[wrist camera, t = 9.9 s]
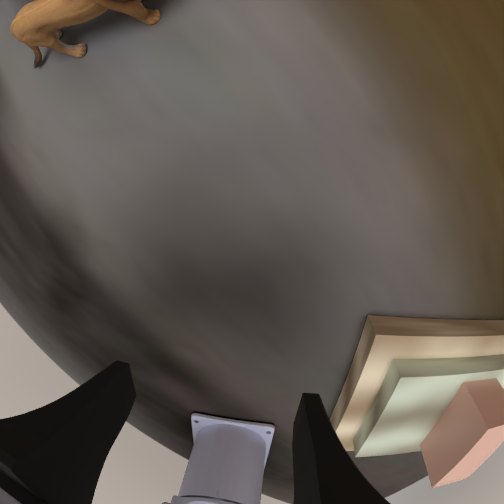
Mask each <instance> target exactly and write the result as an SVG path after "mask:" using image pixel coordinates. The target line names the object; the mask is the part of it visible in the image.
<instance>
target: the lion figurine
mask: <svg viewBox="0 0 504 504" xmlns="http://www.w3.org/2000/svg"><path fill="white" fill-rule="evenodd" d="M140 1H142V0H37V1H33V2H30V3H28V4H27V5H25V6H24V7H23V8H22V9H21V10H20V11H19V13H18V14H17V16H16V18H15V19H14V21H13V22H12V24H11V27H10V30H11V34H12V35H13V36H14V37H15V38H16V39H17V40H19V41H21V42H23V43H25V44H26V45H28V46H29V47H30V48H31V49H32V50H33V51H34V54H35V60H34V68H37V67H38V66H39V65H40V64H41V61H42V54H41V52H40V50H39V48H38V46H41V47H48V48H53V49H55V50H56V51H57V52H60V53H66V54H69V55H71V56H73V57H77V58H81V57H83V56H84V55H85V53H86V48H87V46H86V45H85V44H82V43H81V44H78V45H67V44H65V43H62V42H61V41H60V40H59V38H60V37H61V35H62V32H61V30H60V29H57V28H60V27H67V26H72V25H77V24H81V23H84V22H86V21H89V20H91V19H93V18H95V17H97V16H99V15H101V14H102V13H104V12H105V11H107V10H108V9H112V10H115V11H119V12H122V13H125V14H127V15H130V16H132V17H134V18H136V19H137V20H139V21H141V22H143V23H145V24H148V25H153V24H156V23H157V22H158V21H159V19H160V17H161V14H160V12H159V10H151V9H148V8H144V6H143V4H142V3H141V2H140Z"/></svg>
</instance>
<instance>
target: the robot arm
mask: <svg viewBox="0 0 504 504" xmlns="http://www.w3.org/2000/svg"><path fill="white" fill-rule="evenodd" d="M135 398H136V392H135V388H134V384H133V379H132V375H131V371H130V366H129V364H128V363H124V362H121V361H115V362H114V363H112V364H111V365H110V366H108V367H107V368H105V369H104V370H103V371H101V372H100V373H98V374H97V375H96V376H94V377H93V378H91V379H90V380H88V381H87V382H85V383H84V384H83V385H81V386H80V387H78V388H76V389H75V390H74V391H72V392H70V393H68V394H67V395H65V396H63V397H62V398H60V399H58V400H56V401H54V402H52V403H50V404H48V405H46V406H43V407H41V408H38V409H36V410H33V411H30V412H28V413H25V414H21V415H18V416H14V417H10V418H5V419H0V504H92V500H93V496H94V492H95V488H96V485H97V482H98V479H99V476H100V473H101V470H102V468H103V465H104V462H105V460H106V457H107V455H108V453H109V451H110V449H111V447H112V445H113V443H114V441H115V439H116V438H117V436H118V434H119V432H120V431H121V429H122V427H123V425H124V423H125V421H126V420H127V418H128V416H129V414H130V411H131V409H132V406H133V403H134V401H135ZM191 422H192V432H193V441H194V445H193V449H192V452H191V455H190V459H189V462H188V465H187V468H186V472H185V475H184V478H183V482H182V485H181V489H180V491H179V495H178V496H173V498H172V501H171V503H167V502H164V503H162V504H260V500H261V491H262V482H263V473H264V468H265V464H266V461H267V457H268V453H269V449H270V446H271V442H272V438H273V434H274V430H275V426H274V425H272V424H264V423H255V422H247V421H240V420H233V419H226V418H220V417H214V416H209V415H203V414H198V413H193V414H192V416H191ZM292 448H293V469H294V504H390V503H389V502H388V501H387V500H386V499H385V498H383V497H382V496H381V495H380V493H379V492H378V491H377V490H376V489H375V488H374V487H373V486H372V485H371V484H370V483H369V482H368V481H367V479H366V478H365V477H364V476H363V474H362V473H361V472H360V471H359V469H358V468H357V467H356V465H355V464H354V462H353V461H352V459H351V458H350V456H349V455H348V453H347V452H346V450H345V448H344V447H343V445H342V443H341V441H340V440H339V438H338V436H337V434H336V432H335V430H334V428H333V426H332V424H331V422H330V420H329V417H328V415H327V413H326V411H325V408H324V406H323V403H322V400H321V398H320V395H319V394H313V393H303V394H302V398H301V401H300V404H299V408H298V411H297V414H296V417H295V421H294V427H293V442H292Z"/></svg>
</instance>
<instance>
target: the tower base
mask: <svg viewBox="0 0 504 504" xmlns="http://www.w3.org/2000/svg"><path fill="white" fill-rule="evenodd" d="M492 378H497V380H498V381H499V383H500V384H501V386H502V387H503V389H504V320H460V319H431V318H410V317H392V316H377V315H368V316H367V319H366V322H365V326H364V329H363V332H362V335H361V338H360V341H359V344H358V347H357V350H356V353H355V356H354V359H353V362H352V364H351V367H350V370H349V373H348V375H347V378H346V381H345V383H344V386H343V388H342V391H341V394H340V396H339V399H338V401H337V403H336V406H335V408H334V411H333V413H332V415H331V418H330V422H331V424H332V426H333V428H334V430H335V432H336V434H337V436H338V438H339V440H340V441H341V443H342V445H343V447H344V448H345V450H346V451H354V453H355V457H366V456H379V455H390V454H399V453H407V452H414V451H421V448H420V444H421V442H422V441H423V440H424V439H425V437H426V436H427V435H428V433H429V432H430V431H431V429H432V428H433V427H434V425H435V424H436V423H437V421H438V420H439V418H440V417H441V416H442V414H443V413H444V411H445V410H446V408H447V407H448V405H449V404H450V402H451V401H452V399H453V398H454V396H455V395H456V393H457V391H458V390H459V388H460V387H461V385H462V383H463V382H468V381H477V380H485V379H492Z"/></svg>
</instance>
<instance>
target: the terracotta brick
mask: <svg viewBox="0 0 504 504" xmlns="http://www.w3.org/2000/svg"><path fill="white" fill-rule="evenodd" d="M503 441H504V389H503V387H502V386H501V384H500V383H499V381H498V380H497V378H492V379H485V380H477V381H468V382H463V383H462V385H461V387H460V388H459V390H458V391H457V393H456V395H455V396H454V398H453V399H452V401H451V402H450V404H449V405H448V407H447V408H446V410H445V411H444V413H443V414H442V416H441V417H440V418H439V420H438V421H437V423H436V424H435V425H434V427H433V428H432V429H431V431H430V432H429V433H428V435H427V436H426V437H425V439H424V440H423V441H422V442H421V444H420V448H421V451H422V454H423V458H424V461H425V464H426V468H427V471H428V475H429V479H430V482H431V486H432V488H433V487H437V486H441V485H445V484H448V483H453V482H456V481H459V480H463V479H466V478H467V477H469V476H470V475H471V474H472V473H473V472H474V471H475V470H476V469H477V468H478V467H479V466H480V465H481V464H482V463H483V462H484V461H485V460H486V459H487V458H488V457H489V456H490V455H491V454H492V453H493V452H494V451H495V450H496V449H497V448H498V446H499V445H500V444H501V443H502V442H503Z"/></svg>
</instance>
